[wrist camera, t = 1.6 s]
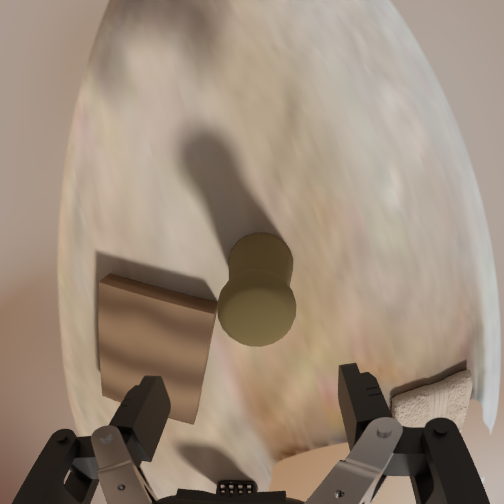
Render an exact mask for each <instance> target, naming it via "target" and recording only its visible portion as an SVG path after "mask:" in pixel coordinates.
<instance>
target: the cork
mask: <svg viewBox="0 0 504 504" xmlns="http://www.w3.org/2000/svg"><path fill="white" fill-rule="evenodd" d="M292 271H293V257H292V254H291V251H290V249H289V248H288V246H287V245H286V244H285V242H284V241H282V240H281V239H279V238H278V237H277V236H274V235H271V234H268V233H254V234H250V235H247V236H245V237H244V238H242V239H241V240H240V241H238V242H237V243H236V245H235V246H234V248H233V249H232V251H231V254H230V258H229V281H228V282H227V283H226V285H225V286H224V287H223V289H222V290H221V293H220V296H219V299H218V303H217V311H218V319H219V321H220V323H221V326H222V328H223V329H224V331H225V332H226V333H227V334H228V335H229V336H230V337H231V338H233V339H234V340H236V341H238V342H239V343H241V344H244V345H248V346H265V345H269V344H273V343H275V342H276V341H278V340H280V339H281V338H283V337H284V336H285V335H286V334H287V332H288V331H289V330H290V329H291V326H292V324H293V321H294V319H295V316H296V301H295V298H294V295H293V292H292V290H291V288H290V287H289V286H290V281H291V276H292Z"/></svg>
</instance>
